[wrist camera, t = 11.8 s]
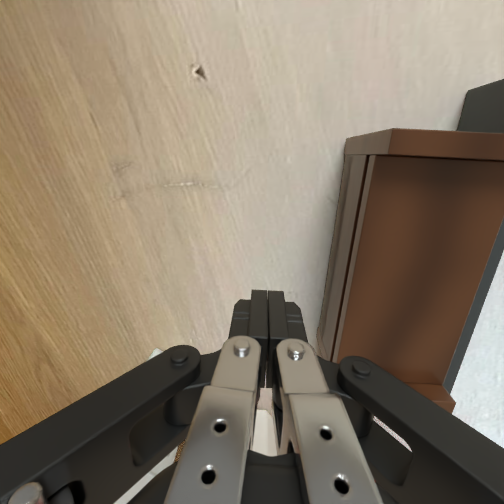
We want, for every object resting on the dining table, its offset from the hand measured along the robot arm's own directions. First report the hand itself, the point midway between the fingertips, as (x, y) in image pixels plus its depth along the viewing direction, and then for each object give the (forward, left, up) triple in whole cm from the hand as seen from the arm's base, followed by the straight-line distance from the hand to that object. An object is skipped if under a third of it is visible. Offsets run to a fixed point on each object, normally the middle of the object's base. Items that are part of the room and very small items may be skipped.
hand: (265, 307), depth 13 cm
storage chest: (-2, +10, -11) cm, 15 cm away
